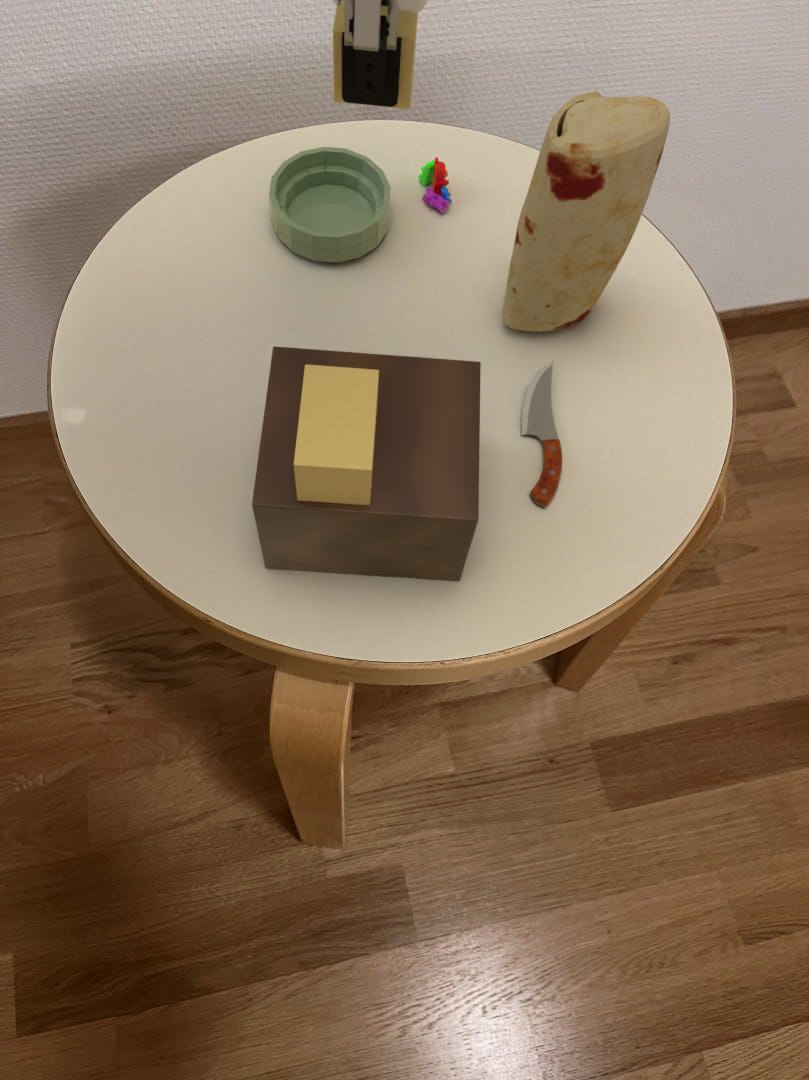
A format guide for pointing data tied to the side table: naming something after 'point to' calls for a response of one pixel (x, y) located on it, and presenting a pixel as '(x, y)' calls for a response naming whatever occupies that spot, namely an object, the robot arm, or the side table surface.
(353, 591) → the side table surface
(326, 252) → the dish
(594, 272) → the food model
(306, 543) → the chopping block
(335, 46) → the butter slice
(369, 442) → the butter
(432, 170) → the multicolored plastic block cluster
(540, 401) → the knife
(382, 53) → the robot arm
